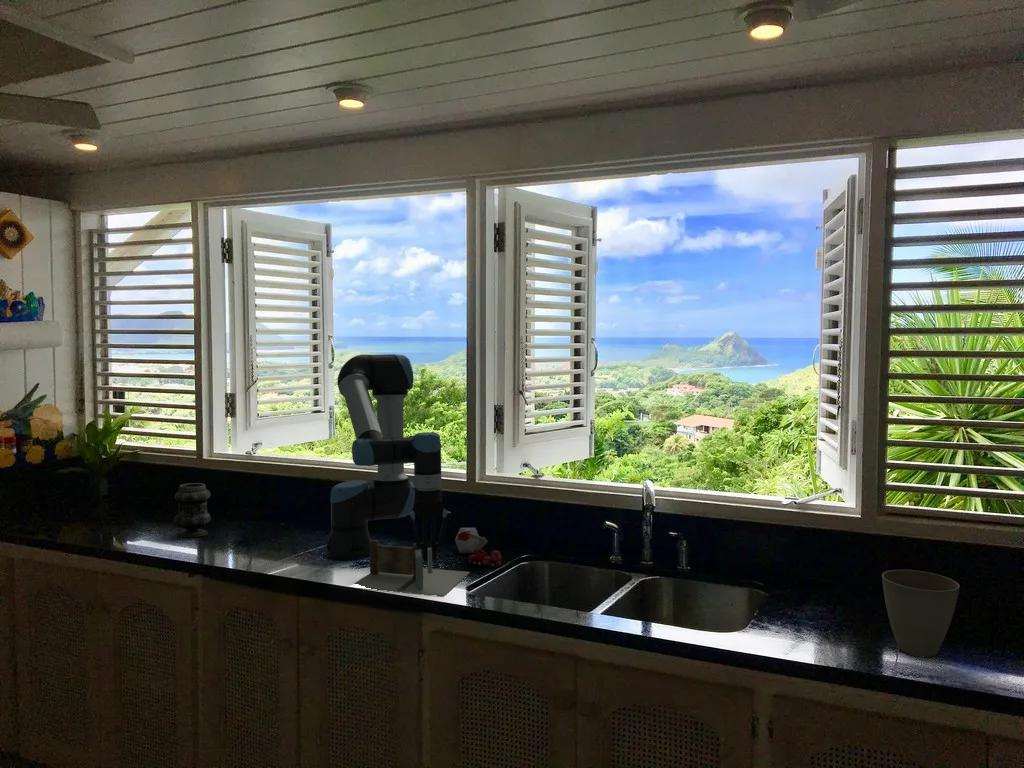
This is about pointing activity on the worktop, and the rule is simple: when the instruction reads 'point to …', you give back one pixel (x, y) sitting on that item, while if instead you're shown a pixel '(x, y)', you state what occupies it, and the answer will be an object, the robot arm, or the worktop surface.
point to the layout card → (432, 583)
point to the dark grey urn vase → (192, 509)
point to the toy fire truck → (480, 555)
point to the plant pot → (919, 609)
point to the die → (467, 541)
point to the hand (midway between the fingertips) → (430, 572)
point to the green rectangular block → (419, 569)
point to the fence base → (392, 559)
